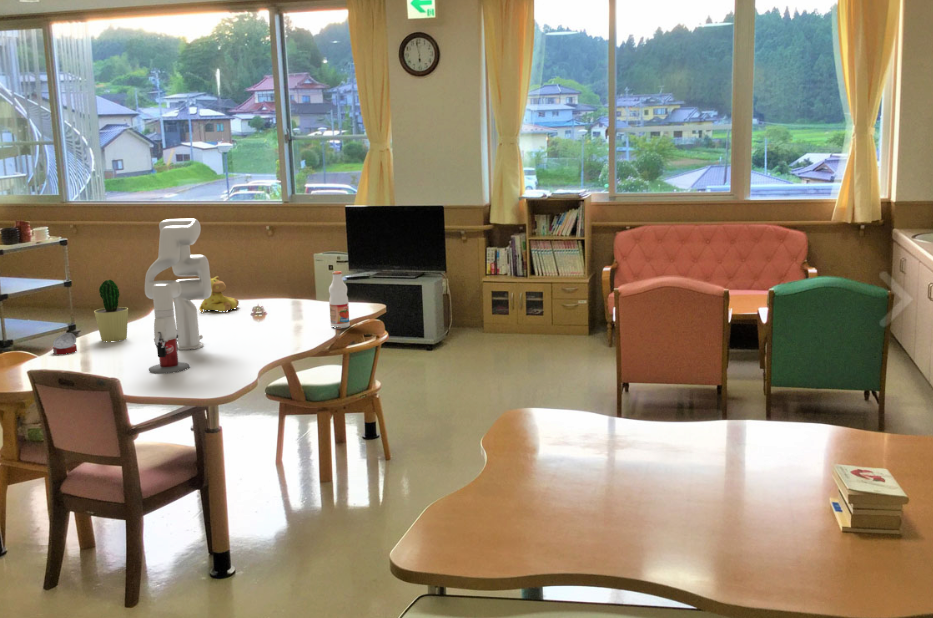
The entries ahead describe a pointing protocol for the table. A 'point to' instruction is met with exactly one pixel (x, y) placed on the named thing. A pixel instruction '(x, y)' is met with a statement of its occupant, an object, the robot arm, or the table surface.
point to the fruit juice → (338, 301)
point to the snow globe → (65, 344)
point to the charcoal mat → (180, 367)
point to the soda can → (170, 354)
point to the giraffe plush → (218, 298)
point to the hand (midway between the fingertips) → (168, 354)
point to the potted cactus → (111, 314)
